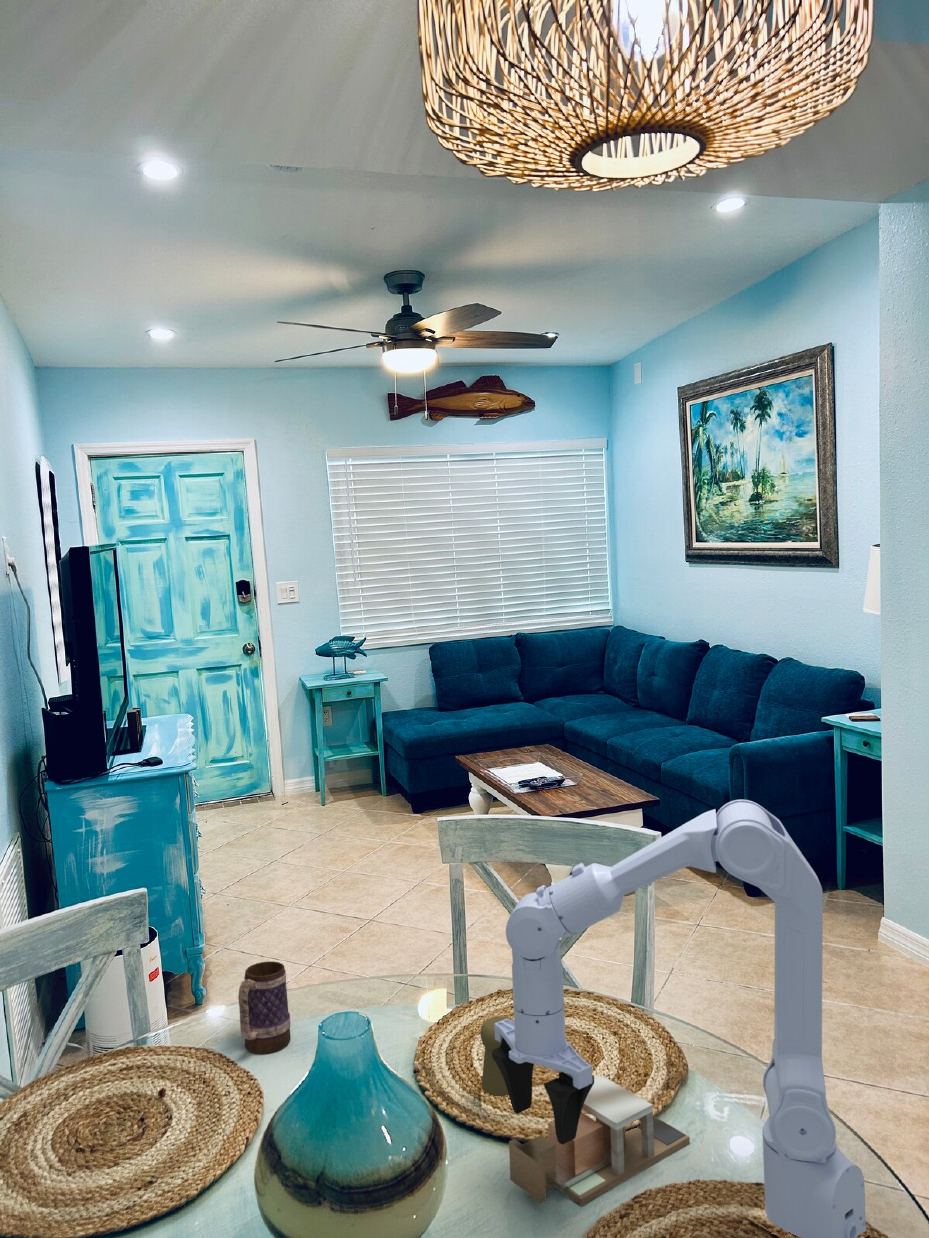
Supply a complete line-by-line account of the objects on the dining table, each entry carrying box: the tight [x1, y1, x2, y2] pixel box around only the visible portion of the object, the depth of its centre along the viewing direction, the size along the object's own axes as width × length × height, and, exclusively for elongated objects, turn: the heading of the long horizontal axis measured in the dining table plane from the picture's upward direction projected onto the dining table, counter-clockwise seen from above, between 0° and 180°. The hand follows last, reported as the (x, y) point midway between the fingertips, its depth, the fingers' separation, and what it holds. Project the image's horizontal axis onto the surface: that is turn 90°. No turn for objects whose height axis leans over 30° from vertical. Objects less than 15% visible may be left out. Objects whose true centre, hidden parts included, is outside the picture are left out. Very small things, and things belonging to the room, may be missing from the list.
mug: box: [237, 960, 292, 1055], centre depth 135 cm, size 10×7×12 cm
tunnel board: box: [554, 1075, 691, 1207], centre depth 106 cm, size 9×18×7 cm, turn 126°
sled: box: [508, 1111, 625, 1204], centre depth 103 cm, size 5×15×5 cm, turn 126°
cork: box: [479, 1015, 514, 1097], centre depth 118 cm, size 6×6×11 cm
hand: (543, 1124), depth 100 cm, fingers open, 7 cm apart
